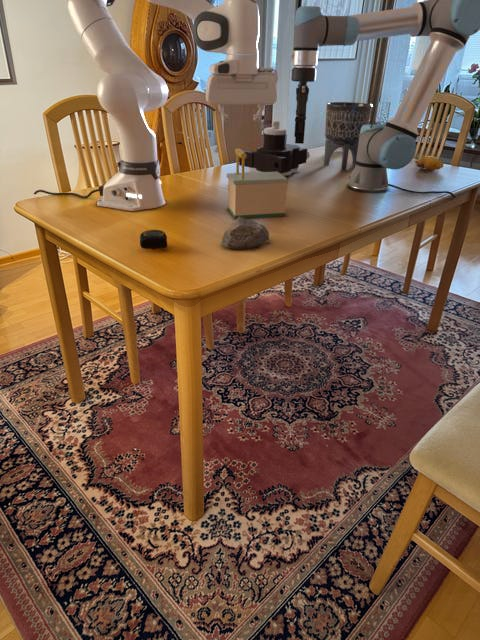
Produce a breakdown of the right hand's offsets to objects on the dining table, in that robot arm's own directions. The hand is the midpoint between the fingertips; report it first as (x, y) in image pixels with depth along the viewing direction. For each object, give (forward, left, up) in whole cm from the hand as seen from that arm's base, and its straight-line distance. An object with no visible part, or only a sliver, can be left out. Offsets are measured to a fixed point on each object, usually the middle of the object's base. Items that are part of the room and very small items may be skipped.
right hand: (298, 140), depth 151 cm
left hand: (+18, +19, +7) cm, 27 cm away
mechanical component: (+5, -41, -20) cm, 46 cm away
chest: (+13, +18, -20) cm, 29 cm away
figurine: (-28, -100, -20) cm, 106 cm away
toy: (-63, -60, -20) cm, 90 cm away
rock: (+14, +47, -20) cm, 52 cm away
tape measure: (+37, +53, -20) cm, 67 cm away
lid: (+13, +18, -9) cm, 24 cm away
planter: (-24, -59, -20) cm, 67 cm away
